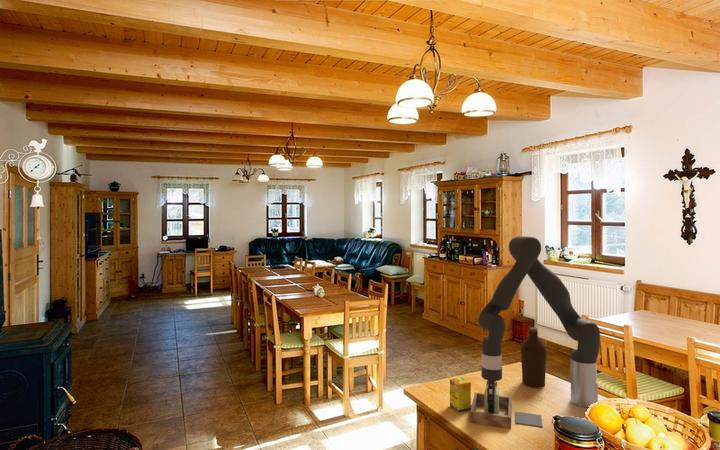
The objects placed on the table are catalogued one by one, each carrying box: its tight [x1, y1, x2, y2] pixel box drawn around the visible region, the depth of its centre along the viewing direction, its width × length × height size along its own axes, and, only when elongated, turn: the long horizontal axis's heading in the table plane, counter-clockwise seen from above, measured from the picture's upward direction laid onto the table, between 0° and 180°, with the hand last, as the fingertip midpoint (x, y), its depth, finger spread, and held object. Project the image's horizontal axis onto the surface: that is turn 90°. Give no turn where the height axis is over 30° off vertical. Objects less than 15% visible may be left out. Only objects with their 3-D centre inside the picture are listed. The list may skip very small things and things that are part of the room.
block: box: [483, 387, 500, 415], centre depth 164 cm, size 5×5×9 cm
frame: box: [469, 391, 513, 429], centre depth 164 cm, size 14×18×4 cm
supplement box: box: [449, 376, 472, 413], centre depth 170 cm, size 6×6×11 cm
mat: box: [515, 411, 543, 428], centre depth 160 cm, size 9×9×1 cm
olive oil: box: [520, 327, 548, 389], centre depth 192 cm, size 11×11×25 cm
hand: (491, 409), depth 164 cm, fingers open, 5 cm apart
